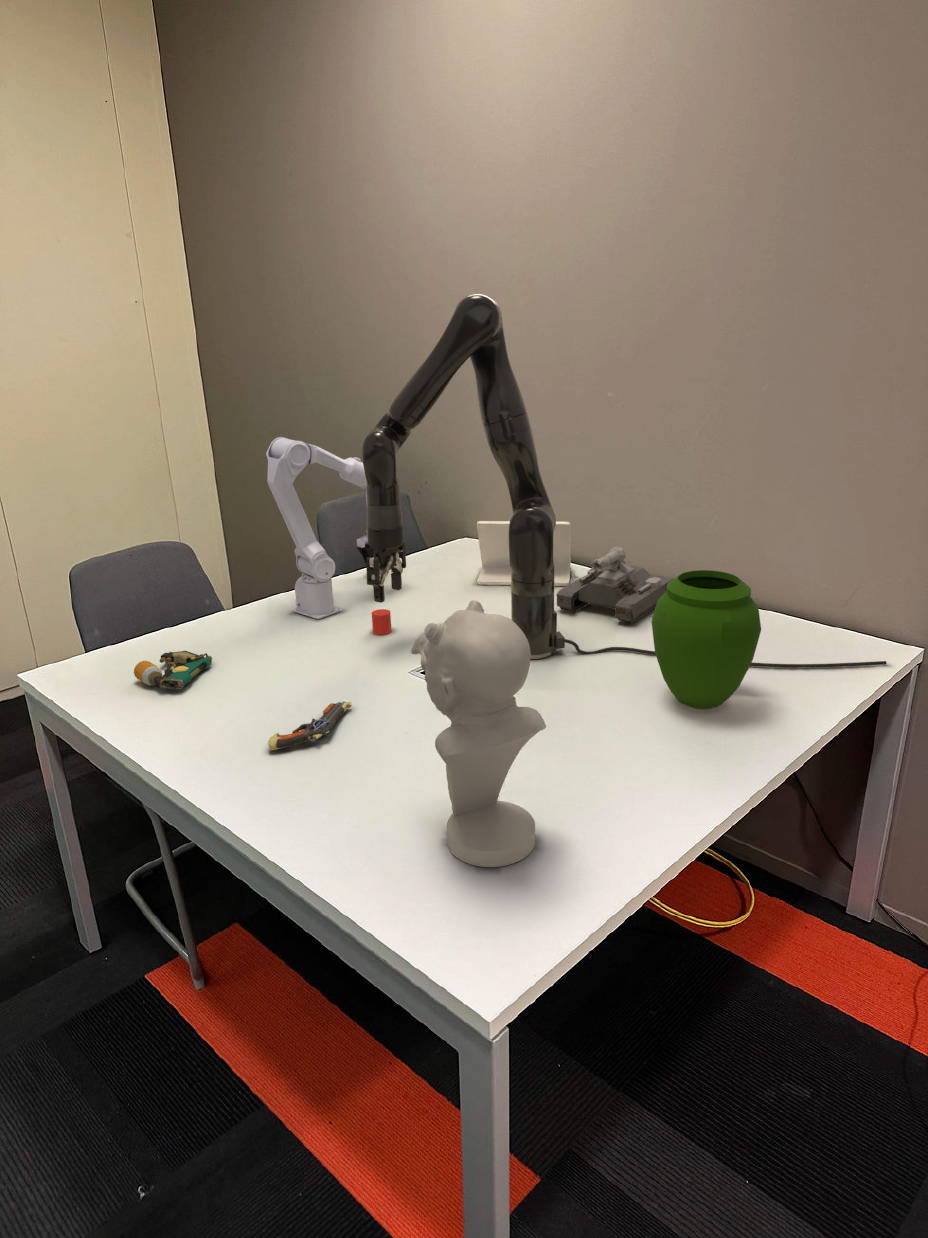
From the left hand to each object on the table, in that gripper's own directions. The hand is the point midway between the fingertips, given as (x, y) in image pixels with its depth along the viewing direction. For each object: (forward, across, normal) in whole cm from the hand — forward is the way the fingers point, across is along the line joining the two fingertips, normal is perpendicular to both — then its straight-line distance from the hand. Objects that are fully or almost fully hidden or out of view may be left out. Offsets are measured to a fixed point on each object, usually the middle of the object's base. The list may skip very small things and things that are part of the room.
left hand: (381, 567), depth 223 cm
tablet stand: (+8, +36, -20) cm, 42 cm away
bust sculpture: (+8, -68, -87) cm, 110 cm away
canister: (+8, -18, -18) cm, 27 cm away
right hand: (-5, -25, -28) cm, 38 cm away
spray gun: (+8, -63, -2) cm, 63 cm away
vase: (+8, -8, -94) cm, 95 cm away
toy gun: (+8, -61, -43) cm, 75 cm away
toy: (+8, +29, -53) cm, 61 cm away
